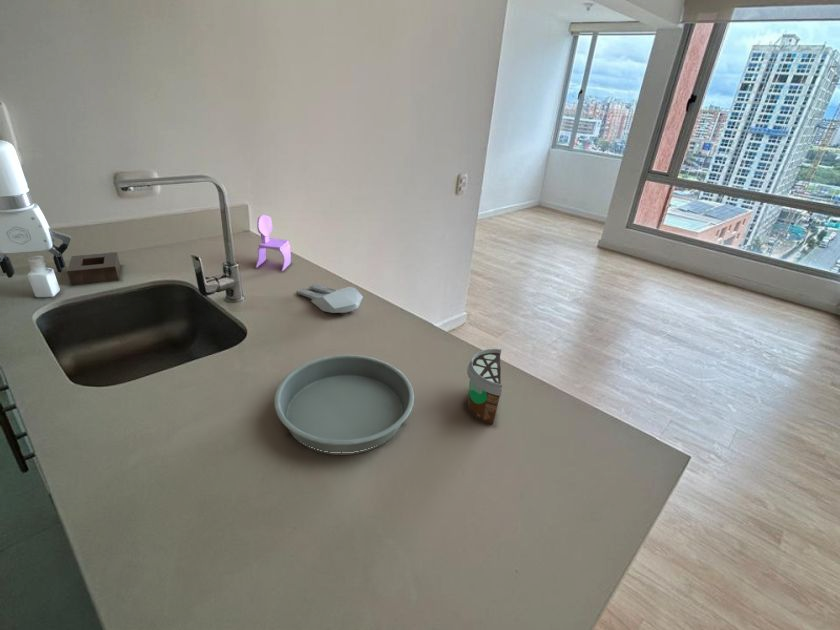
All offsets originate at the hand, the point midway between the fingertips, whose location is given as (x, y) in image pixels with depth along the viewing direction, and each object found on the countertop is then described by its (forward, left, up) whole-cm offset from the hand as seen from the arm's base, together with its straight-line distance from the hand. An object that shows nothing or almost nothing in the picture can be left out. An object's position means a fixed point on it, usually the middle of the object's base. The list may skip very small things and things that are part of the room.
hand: (36, 272), depth 106 cm
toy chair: (+55, +2, -6) cm, 55 cm away
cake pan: (+53, -67, -6) cm, 86 cm away
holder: (+10, +9, -6) cm, 15 cm away
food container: (+77, -75, -6) cm, 108 cm away
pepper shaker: (+1, 0, -6) cm, 6 cm away
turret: (+63, -26, -6) cm, 69 cm away
